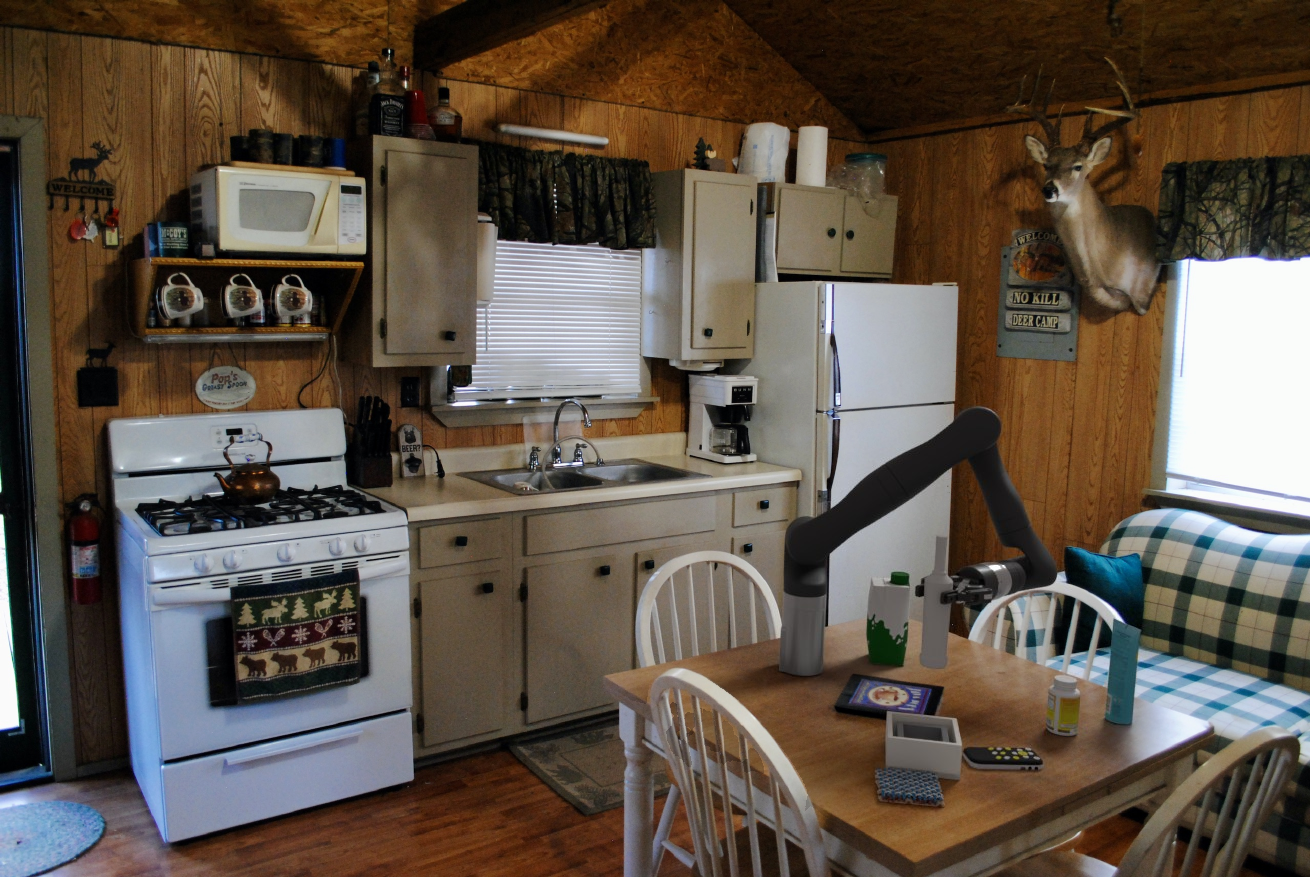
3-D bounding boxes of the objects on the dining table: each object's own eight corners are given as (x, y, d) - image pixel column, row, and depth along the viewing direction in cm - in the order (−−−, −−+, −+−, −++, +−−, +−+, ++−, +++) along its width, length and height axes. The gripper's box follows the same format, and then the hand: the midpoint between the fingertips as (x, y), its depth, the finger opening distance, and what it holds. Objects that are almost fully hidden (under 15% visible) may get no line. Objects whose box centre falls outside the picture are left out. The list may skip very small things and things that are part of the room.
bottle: (947, 662, 193) (956, 534, 190) (946, 671, 188) (955, 540, 185) (920, 658, 195) (928, 531, 192) (917, 667, 190) (926, 537, 187)
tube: (1142, 725, 193) (1151, 628, 191) (1123, 728, 192) (1131, 630, 190) (1113, 711, 200) (1121, 617, 198) (1093, 714, 199) (1101, 619, 196)
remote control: (960, 755, 179) (960, 744, 178) (1031, 756, 179) (1032, 745, 179) (972, 770, 172) (972, 759, 172) (1045, 772, 173) (1046, 761, 173)
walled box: (885, 771, 170) (887, 737, 170) (885, 742, 182) (887, 710, 181) (959, 780, 168) (962, 745, 167) (954, 750, 180) (956, 718, 179)
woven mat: (937, 781, 168) (937, 769, 168) (945, 812, 158) (946, 799, 158) (873, 775, 170) (873, 764, 170) (877, 805, 159) (878, 793, 159)
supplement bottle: (1083, 732, 189) (1087, 679, 188) (1067, 739, 186) (1072, 686, 185) (1055, 722, 194) (1059, 671, 193) (1039, 729, 190) (1043, 677, 189)
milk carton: (908, 667, 223) (913, 579, 220) (866, 664, 224) (871, 576, 222) (903, 655, 231) (909, 569, 229) (863, 652, 232) (868, 567, 230)
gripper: (953, 556, 204) (899, 567, 193) (1017, 572, 193) (963, 584, 182) (951, 592, 205) (897, 605, 194) (1014, 610, 194) (960, 624, 183)
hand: (929, 595), depth 188 cm, fingers closed on bottle, 5 cm apart
